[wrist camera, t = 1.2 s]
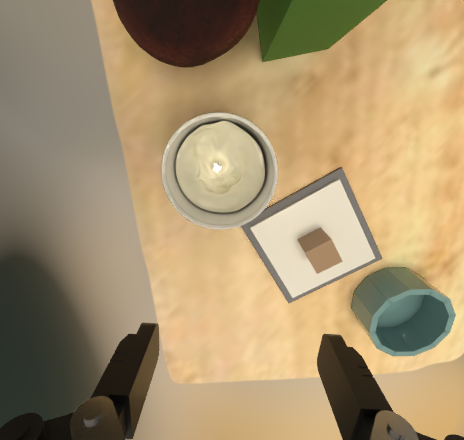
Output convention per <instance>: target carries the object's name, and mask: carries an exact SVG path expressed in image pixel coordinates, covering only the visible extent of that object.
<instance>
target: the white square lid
mask: <svg viewBox="0 0 464 440" xmlns="http://www.w3.org/2000/svg"><path fill="white" fill-rule="evenodd" d="M250 229H251V230H252V232H253V234H254V235H255V237H256V239H257V240H258V242H259V244H260V245H261V247H262V249H263V250H264V252H265V254H266V255H267V257H268V258H269V260H270V262H271V263H272V265H273V267H274V268H275V270H276V272H277V273H278V275H279V277H280V278H281V280H282V281H283V283H284V285H285V286H286V288H287V290H288V291H289V293H290V295H291V296H292V298H294V297H296V296H298V295H300V294H302V293H305V292H307V291H309V290H311V289H313V288H315V287H317V286H319V285H321V284H323V283H325V282H327V281H329V280H332V279H334V278H336V277H338V276H340V275H342V274H344V273H346V272H348V271H350V270H352V269H354V268H357V267H359V266H361V265H363V264H365V263H367V262H369V261H371V260H373V259H375V256H374V254H373V252H372V249H371V247H370V245H369V243H368V241H367V238H366V236H365V234H364V232H363V230H362V227H361V225H360V223H359V221H358V219H357V216H356V214H355V212H354V210H353V208H352V205H351V203H350V201H349V199H348V197H347V194H346V192H345V190H344V188H343V186H342V183H341V181H340V179H336V180H334V181H332V182H331V183H329V184H327V185H325V186H323V187H321V188H320V189H318V190H316V191H314V192H312V193H310V194H309V195H307V196H305V197H303V198H301V199H299V200H298V201H296V202H294V203H292V204H290V205H289V206H287V207H285V208H283V209H281V210H279V211H278V212H276V213H274V214H272V215H270V216H268V217H267V218H265V219H263V220H261V221H259V222H257V223H256V224H254V225H252V226H250Z"/></svg>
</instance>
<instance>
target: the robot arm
mask: <svg viewBox="0 0 464 440" xmlns="http://www.w3.org/2000/svg"><path fill="white" fill-rule="evenodd" d="M158 355H159V325H158V324H155V323H142V324H141V325H140V328H139V330H138V332H137V334H128V335H127V336H126V337H125V338H124V339H123V340H122V341H121V342H120V343H119V345H118V347H117V349H116V350H115V353H114V354H113V356H112V358H111V360H110V363H109V364H108V366H107V368H106V370H105V372H104V373H103V375H102V377H101V379H100V381H99V383H98V385H97V387H96V389H95V391H94V393H93V395H92V396H91V398H90V399H88V400H86V401H85V402H83V403H82V404H81V405H80V406H79V407H78V408H77V409H76V410H75V411H74V412H73V413H70V414H68V415H65V416H61V417H58V418H54V419H51V420H47V421H43V419H42V417H41V416H40V415H38V414H36V413H26V414H22V415H20V416H17V417H15V418H13V419H12V420H10V421H9V422H7V423H6V424H5V425H3V426H2V427H1V428H0V440H125V439H133V436H134V433H135V430H136V427H137V424H138V421H139V417H140V414H141V411H142V408H143V405H144V402H145V399H146V395H147V392H148V389H149V386H150V383H151V380H152V377H153V373H154V370H155V367H156V364H157V360H158ZM317 366H318V371H319V374H320V377H321V380H322V383H323V386H324V388H325V391H326V394H327V397H328V400H329V402H330V405H331V408H332V411H333V414H334V416H335V419H336V422H337V424H338V427H339V430H340V433H341V436H342V438H343V440H436V439H433V438H430V437H428V436H425V435H422V434H420V433H417V432H415V430H414V429H413V427H412V426H411V425H410V424H409V423H408V422H407V421H406V420H405V419H404V418H402V417H401V416H400V415H398V414H396V413H394V412H393V410H392V408H391V407H390V405H389V403H388V402H387V400H386V398H385V396H384V394H383V393H382V391H381V389H380V387H379V386H378V384H377V382H376V381H375V379H374V378H373V375H372V373H371V372H370V370H369V369H368V366H367V365H366V363H365V361H364V359H363V358H362V356H361V355H360V354H359V353H358V352H357V351H356V350H355V349H354V348H353V347H347V345H346V344H345V342H344V340H343V338H342V336H341V335H334V334H324V335H323V337H322V341H321V345H320V349H319V353H318V357H317ZM444 440H464V437H462V436H459V435H448V436H446V438H445V439H444Z"/></svg>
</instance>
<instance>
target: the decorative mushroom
mask: <svg viewBox="0 0 464 440" xmlns="http://www.w3.org/2000/svg"><path fill="white" fill-rule="evenodd" d="M259 2H260V0H113V3H114V5H115V8H116V11H117V14H118V16H119V18H120V20H121V22H122V24H123V25H124V27H125V28H126V30H127V32H128V33H129V34H130V36H131V37H132V38H133V40H134V41H135V42H136V43H137V44H138V45H139V46H140V47H141V48H142V49H143V50H144V51H146V52H147V53H148V54H150V55H151V56H152V57H154V58H156V59H157V60H159V61H161V62H164V63H166V64H170V65H173V66H177V67H194V66H199V65H203V64H205V63H207V62H209V61H212V60H214V59H216V58H217V57H219V56H221V55H223V54H224V53H226V52H227V51H229V50H230V49H231V48H233V47H234V46H235V45H236V44H237V43H238V42H239V41H240V40H241V39H242V38H243V36H244V35H245V34H246V32H247V31H248V29H249V28H250V26H251V24H252V22H253V19H254V17H255V15H256V12H257V9H258V6H259Z"/></svg>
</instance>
